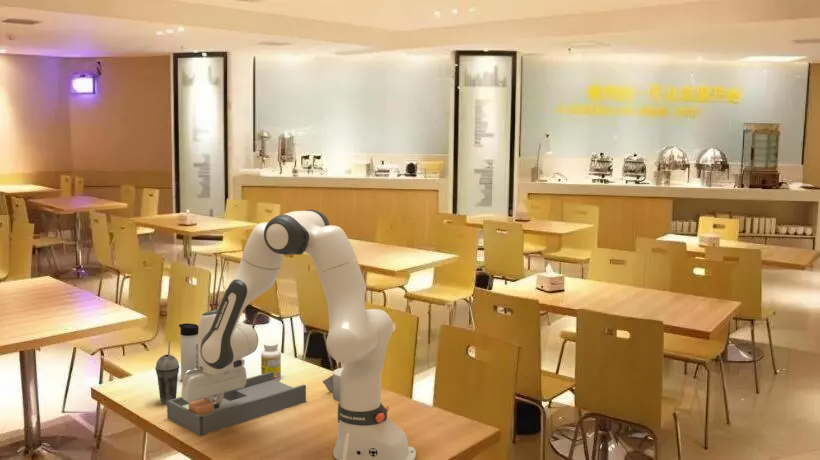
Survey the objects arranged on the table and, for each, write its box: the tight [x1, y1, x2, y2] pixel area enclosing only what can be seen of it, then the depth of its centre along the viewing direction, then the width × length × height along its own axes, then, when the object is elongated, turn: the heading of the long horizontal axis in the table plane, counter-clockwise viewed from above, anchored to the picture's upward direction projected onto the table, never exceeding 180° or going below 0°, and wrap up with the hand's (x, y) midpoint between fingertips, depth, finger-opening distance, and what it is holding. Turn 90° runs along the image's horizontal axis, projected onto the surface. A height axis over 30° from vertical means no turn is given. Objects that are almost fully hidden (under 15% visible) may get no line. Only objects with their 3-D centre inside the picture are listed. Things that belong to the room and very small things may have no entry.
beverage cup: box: [154, 340, 180, 406], centre depth 241 cm, size 7×7×20 cm
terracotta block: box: [189, 399, 213, 416], centre depth 225 cm, size 5×5×4 cm
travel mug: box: [178, 322, 200, 383], centre depth 261 cm, size 6×7×20 cm
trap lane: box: [166, 372, 307, 437], centre depth 238 cm, size 38×18×6 cm, turn 137°
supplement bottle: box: [260, 341, 282, 382], centre depth 265 cm, size 7×7×13 cm
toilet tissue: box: [322, 367, 344, 403], centre depth 250 cm, size 9×13×9 cm
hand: (215, 408), depth 228 cm, fingers closed
